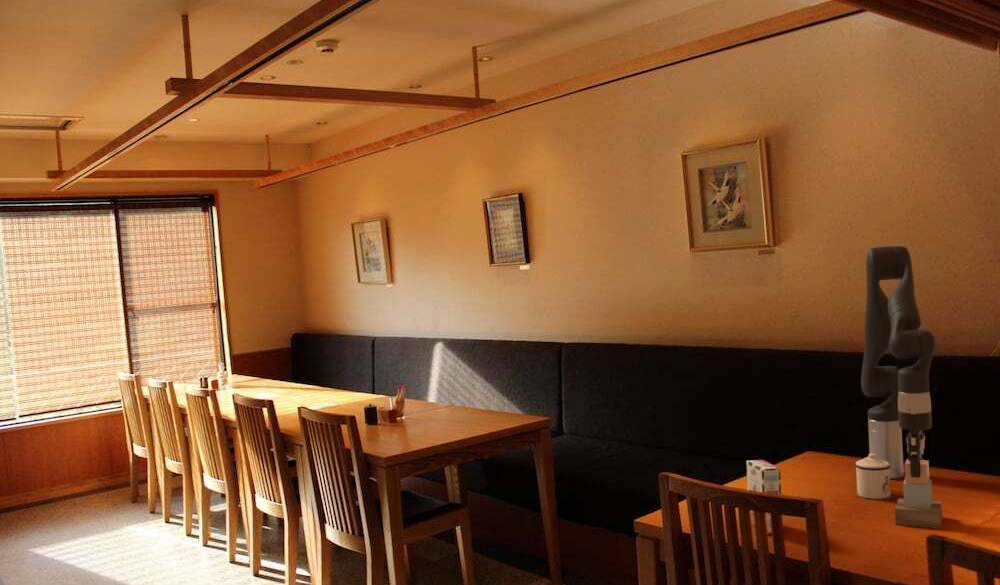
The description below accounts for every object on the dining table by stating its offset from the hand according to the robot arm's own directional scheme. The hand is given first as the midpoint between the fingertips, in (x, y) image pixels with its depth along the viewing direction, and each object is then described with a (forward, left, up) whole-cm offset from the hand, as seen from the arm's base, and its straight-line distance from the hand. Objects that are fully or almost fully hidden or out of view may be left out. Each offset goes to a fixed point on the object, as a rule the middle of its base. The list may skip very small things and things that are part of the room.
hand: (917, 473), depth 219 cm
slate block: (0, 0, -8) cm, 8 cm away
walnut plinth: (0, 0, -12) cm, 12 cm away
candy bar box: (+18, -34, -12) cm, 40 cm away
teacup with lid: (-22, -13, -12) cm, 28 cm away
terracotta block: (0, 0, -2) cm, 2 cm away
